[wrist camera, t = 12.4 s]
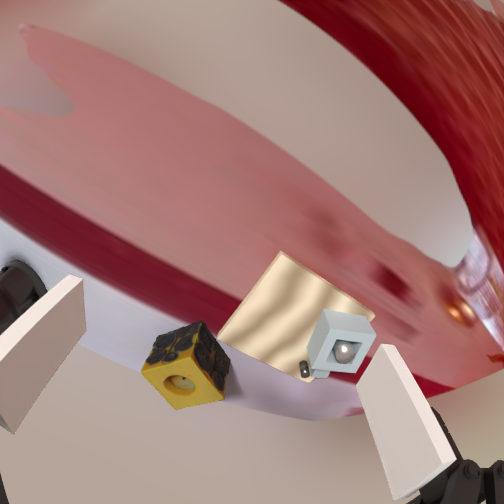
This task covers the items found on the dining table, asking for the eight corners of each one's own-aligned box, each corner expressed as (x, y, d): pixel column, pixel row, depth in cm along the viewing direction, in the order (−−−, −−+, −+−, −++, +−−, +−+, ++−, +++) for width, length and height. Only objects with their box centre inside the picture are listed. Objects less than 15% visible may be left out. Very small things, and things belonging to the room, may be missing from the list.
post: (324, 334, 46) (332, 359, 40) (335, 321, 45) (346, 345, 39) (336, 341, 46) (346, 366, 40) (348, 329, 45) (359, 353, 39)
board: (217, 333, 48) (216, 338, 46) (280, 250, 42) (281, 254, 41) (307, 377, 51) (309, 383, 50) (372, 311, 46) (375, 316, 45)
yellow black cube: (231, 359, 50) (227, 400, 40) (185, 373, 51) (175, 411, 42) (202, 317, 47) (192, 356, 37) (155, 335, 48) (138, 372, 39)
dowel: (297, 364, 48) (299, 376, 45) (302, 359, 48) (305, 370, 45) (303, 367, 48) (306, 379, 45) (309, 362, 48) (312, 373, 45)
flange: (322, 308, 44) (330, 328, 39) (365, 316, 45) (376, 335, 39) (297, 367, 48) (300, 389, 43) (336, 372, 49) (343, 392, 44)
